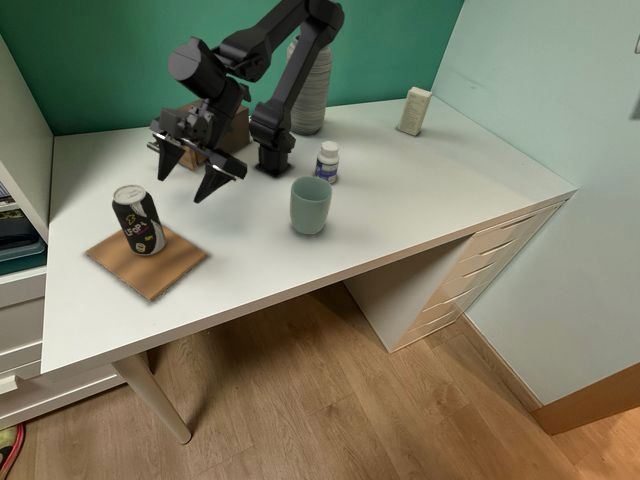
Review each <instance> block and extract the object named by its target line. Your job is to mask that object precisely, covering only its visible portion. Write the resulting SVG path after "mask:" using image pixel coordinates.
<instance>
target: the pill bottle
mask: <svg viewBox="0 0 640 480" xmlns="http://www.w3.org/2000/svg"><path fill="white" fill-rule="evenodd" d="M339 147H340V146H339V144H337V142H334V141H329V140H328V141H327V140H326V141H323V142H322V143H321V146H320V150H319V151H318V153H317V155H316V162H315V170H314V177H319V178H322V179H324V180H326V181H327V182H328V183H329V184H333V183H334V182H335V181H336V179H337V173H338V168H339V165H340V164H339V163H340V154H339V150H340V148H339Z"/></svg>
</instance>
